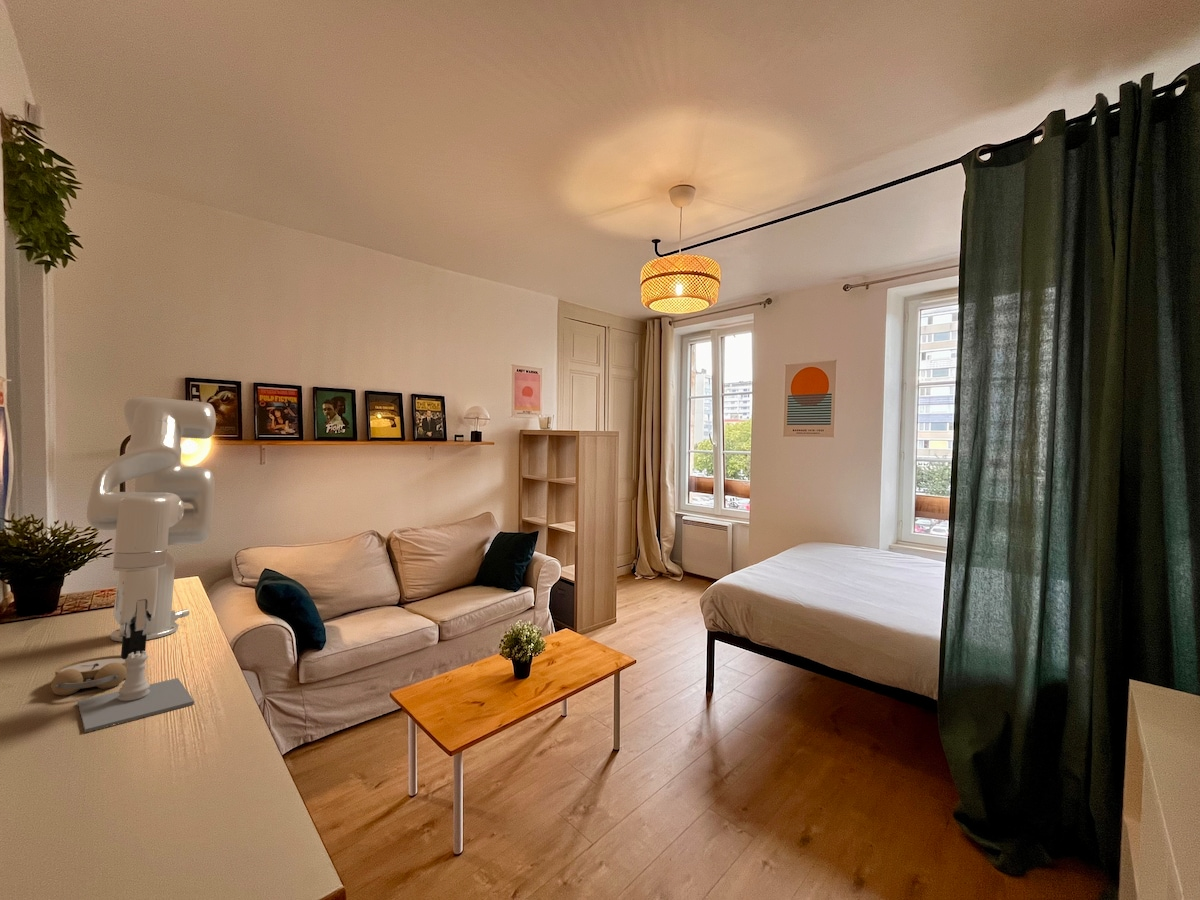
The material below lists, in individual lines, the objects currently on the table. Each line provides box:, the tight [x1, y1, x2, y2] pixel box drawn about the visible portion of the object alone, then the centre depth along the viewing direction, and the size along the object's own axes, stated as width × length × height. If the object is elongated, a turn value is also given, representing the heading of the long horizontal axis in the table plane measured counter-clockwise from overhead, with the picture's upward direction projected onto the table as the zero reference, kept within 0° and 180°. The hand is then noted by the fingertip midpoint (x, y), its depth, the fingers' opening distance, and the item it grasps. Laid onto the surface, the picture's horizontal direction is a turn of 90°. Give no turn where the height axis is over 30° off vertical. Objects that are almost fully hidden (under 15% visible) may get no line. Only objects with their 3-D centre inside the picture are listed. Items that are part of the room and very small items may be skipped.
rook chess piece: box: [117, 650, 151, 702], centre depth 92 cm, size 4×4×8 cm
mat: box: [77, 677, 195, 734], centre depth 90 cm, size 14×14×1 cm
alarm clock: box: [50, 654, 128, 696], centre depth 98 cm, size 11×5×15 cm
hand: (133, 656), depth 94 cm, fingers closed
